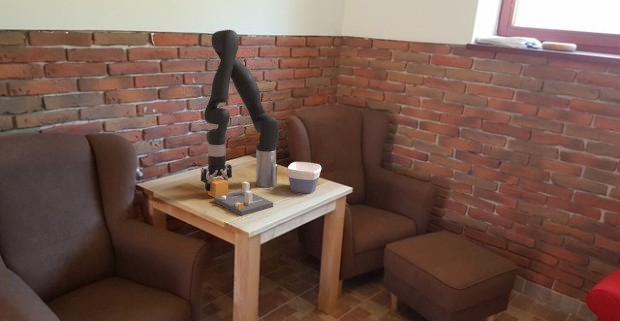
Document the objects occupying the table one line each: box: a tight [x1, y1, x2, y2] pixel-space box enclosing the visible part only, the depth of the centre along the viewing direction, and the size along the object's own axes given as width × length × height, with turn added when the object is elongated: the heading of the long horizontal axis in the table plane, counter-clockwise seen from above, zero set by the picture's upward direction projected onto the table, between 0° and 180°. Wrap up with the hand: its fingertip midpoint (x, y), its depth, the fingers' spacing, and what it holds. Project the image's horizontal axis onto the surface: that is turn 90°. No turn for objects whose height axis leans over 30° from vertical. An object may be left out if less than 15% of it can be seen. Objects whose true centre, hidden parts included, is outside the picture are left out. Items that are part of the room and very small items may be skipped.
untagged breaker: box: [241, 181, 251, 195], centre depth 199 cm, size 3×3×5 cm
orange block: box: [207, 177, 229, 198], centre depth 202 cm, size 6×6×7 cm
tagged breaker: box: [243, 190, 254, 205], centre depth 188 cm, size 3×3×5 cm
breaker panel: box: [213, 189, 274, 217], centre depth 193 cm, size 16×20×4 cm
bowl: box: [286, 161, 322, 194], centre depth 214 cm, size 15×15×11 cm
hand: (216, 189), depth 202 cm, fingers open, 8 cm apart
